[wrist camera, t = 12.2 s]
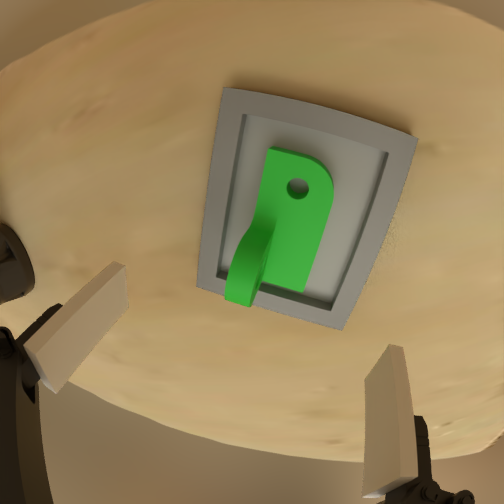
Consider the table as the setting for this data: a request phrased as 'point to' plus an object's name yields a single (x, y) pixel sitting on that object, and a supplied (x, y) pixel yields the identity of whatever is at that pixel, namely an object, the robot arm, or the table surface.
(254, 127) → the locating tray
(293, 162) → the mechanical part
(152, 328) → the table surface
